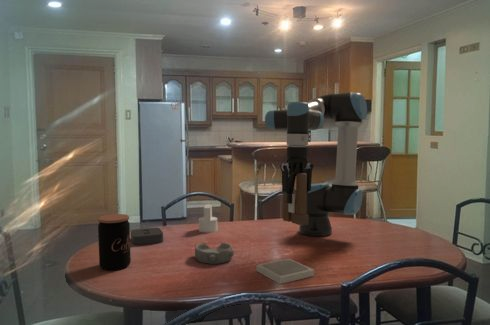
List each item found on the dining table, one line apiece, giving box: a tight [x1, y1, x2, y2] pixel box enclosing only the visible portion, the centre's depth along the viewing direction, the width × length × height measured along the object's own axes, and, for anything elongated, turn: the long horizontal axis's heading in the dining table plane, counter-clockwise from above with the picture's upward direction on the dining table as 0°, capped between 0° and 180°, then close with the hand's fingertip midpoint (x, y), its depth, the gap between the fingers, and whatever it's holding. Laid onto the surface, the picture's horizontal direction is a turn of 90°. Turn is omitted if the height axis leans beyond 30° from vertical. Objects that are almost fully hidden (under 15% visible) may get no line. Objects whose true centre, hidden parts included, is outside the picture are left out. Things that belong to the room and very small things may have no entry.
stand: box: [256, 258, 315, 285], centre depth 138 cm, size 14×14×2 cm
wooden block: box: [282, 173, 309, 226], centre depth 146 cm, size 4×11×18 cm, turn 30°
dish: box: [194, 242, 235, 265], centre depth 153 cm, size 14×14×5 cm
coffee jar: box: [97, 213, 132, 272], centre depth 145 cm, size 11×11×18 cm
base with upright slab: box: [198, 204, 219, 233], centre depth 195 cm, size 9×9×12 cm
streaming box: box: [130, 227, 164, 247], centre depth 177 cm, size 13×13×4 cm
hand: (296, 211), depth 145 cm, fingers closed on wooden block, 4 cm apart
